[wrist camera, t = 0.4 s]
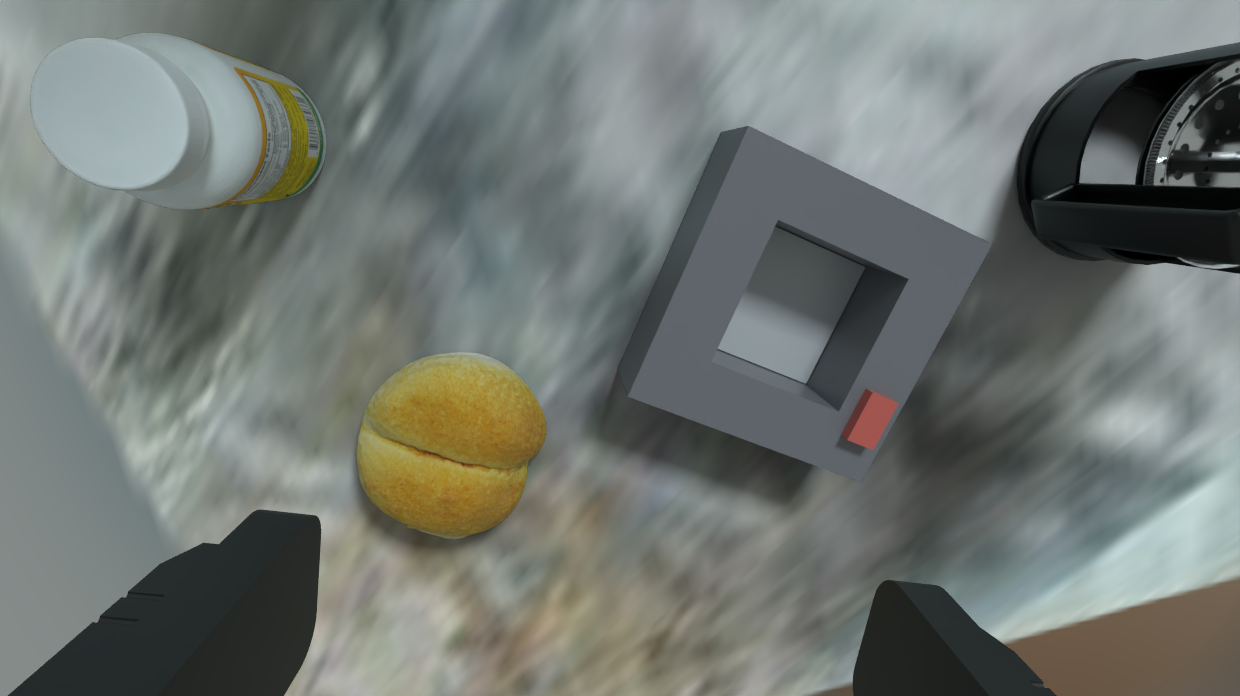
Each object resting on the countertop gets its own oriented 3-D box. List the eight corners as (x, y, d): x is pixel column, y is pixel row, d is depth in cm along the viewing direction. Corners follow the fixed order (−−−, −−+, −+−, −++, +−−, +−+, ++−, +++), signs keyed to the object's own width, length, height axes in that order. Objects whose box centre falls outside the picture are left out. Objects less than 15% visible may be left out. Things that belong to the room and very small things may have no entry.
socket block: (721, 131, 28) (753, 124, 24) (937, 235, 31) (1001, 245, 27) (617, 369, 31) (629, 401, 27) (825, 446, 33) (867, 488, 29)
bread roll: (565, 378, 31) (569, 407, 27) (502, 530, 33) (496, 578, 29) (400, 318, 29) (378, 340, 26) (343, 482, 31) (314, 526, 27)
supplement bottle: (355, 128, 27) (255, 106, 18) (284, 227, 28) (152, 255, 18) (238, 37, 25) (64, -40, 16) (167, 143, 26) (-39, 128, 17)
